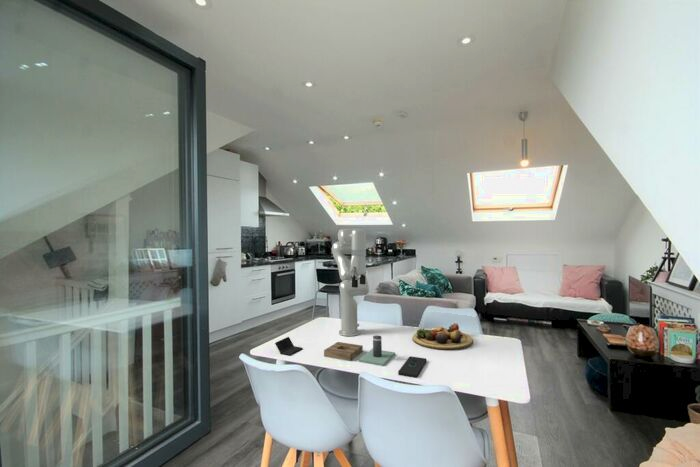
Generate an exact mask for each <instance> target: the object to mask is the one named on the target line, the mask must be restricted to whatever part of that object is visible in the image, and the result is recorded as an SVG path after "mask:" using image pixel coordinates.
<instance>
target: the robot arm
mask: <svg viewBox="0 0 700 467" xmlns="http://www.w3.org/2000/svg"><path fill="white" fill-rule="evenodd" d="M366 234H367V231H366V230H364V229H361V228H343V229H342V228H341V229H339V230H338V232H337V239H338V241H336V242H333V244H332V247H331V251H332V256H333V260H335V262H336V265H337V269H338V274H339V279H340V280H341V282H340V283H339V285H338V286H339V293H340V302H341V303H340V306H341V307H340V311H341V313H340V314H341V315H340V318H341V319H340V322H341V329H340V330H339V331H338V334H339V335H340V336H342V337H355V336H358V335H360V334H361V330H359V329H358V328H359V326H360V324H359V323H358V303H357V301H356V300H355V298H354V297H360V296H363V297H364V296H367V295H368V294H369V291H370V286H369V281H368V277H367V275H366V274H367V265H366V264H367V263H366V262H367V261H366V256H367V235H366ZM346 255H351V258H350V259H349V257H347V256H346Z"/></svg>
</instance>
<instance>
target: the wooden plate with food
mask: <svg viewBox="0 0 700 467" xmlns="http://www.w3.org/2000/svg"><path fill="white" fill-rule="evenodd" d="M411 338H412V341H413V343H415V344H417V345H418V346H420V347H422V348H426V349H429V350H437V351H458V350H459V351H460V350H464V349H467V348H470V347H471V346H473V343H474V338H473V337H472V336H471V335H469V334H467V333H465V332H462V331H461V330H460V325H459V324H458V323H453V324H450V326H448V328H445V327H443V326H438V327H434V328H432V329H425V327H423V328H420V329H418V330H417V331H416V332H415V333H414V334H413V335H412V337H411Z"/></svg>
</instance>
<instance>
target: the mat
mask: <svg viewBox="0 0 700 467" xmlns="http://www.w3.org/2000/svg"><path fill="white" fill-rule="evenodd" d="M395 355H396V352H395V351H391V350H390V351H389V350H383V349H382V356H381V357H374V356H373V348H371V349H370V350H369V351H368V352H366V353H365V354H364V355H363V356H361V357H360V358H359V359H358V362H359V363H364V364H371V365H375V366H376V365H377V366H380V367H384V366H385V365H386V364H387V363H388V362H389V361H391V359H392V358H393V357H394V356H395Z"/></svg>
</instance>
